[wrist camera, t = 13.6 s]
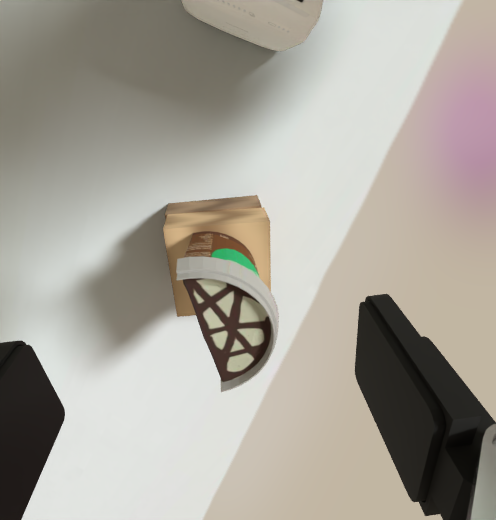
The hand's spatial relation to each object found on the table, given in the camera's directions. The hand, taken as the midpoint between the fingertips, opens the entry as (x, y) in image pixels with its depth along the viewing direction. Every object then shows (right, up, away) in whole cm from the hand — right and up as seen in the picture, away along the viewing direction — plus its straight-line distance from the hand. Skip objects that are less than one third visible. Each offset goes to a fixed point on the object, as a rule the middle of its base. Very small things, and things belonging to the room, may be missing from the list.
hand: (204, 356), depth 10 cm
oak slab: (-2, +3, +29) cm, 29 cm away
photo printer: (+1, +25, +22) cm, 33 cm away
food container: (0, +2, +25) cm, 25 cm away
